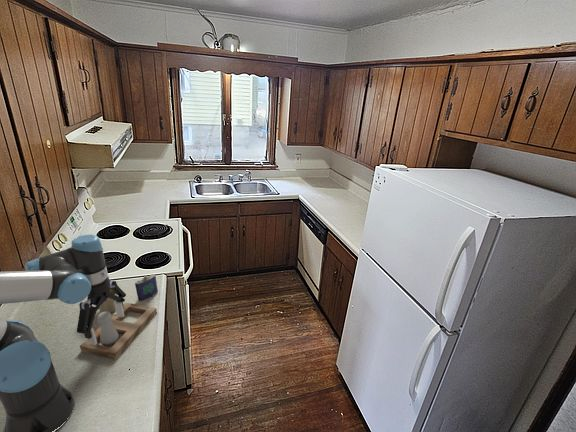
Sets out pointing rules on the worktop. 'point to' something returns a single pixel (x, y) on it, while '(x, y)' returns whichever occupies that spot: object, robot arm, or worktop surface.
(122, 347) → the socket board
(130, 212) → the worktop surface
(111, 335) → the salt shaker
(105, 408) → the worktop surface
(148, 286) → the flask
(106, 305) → the flower pot
